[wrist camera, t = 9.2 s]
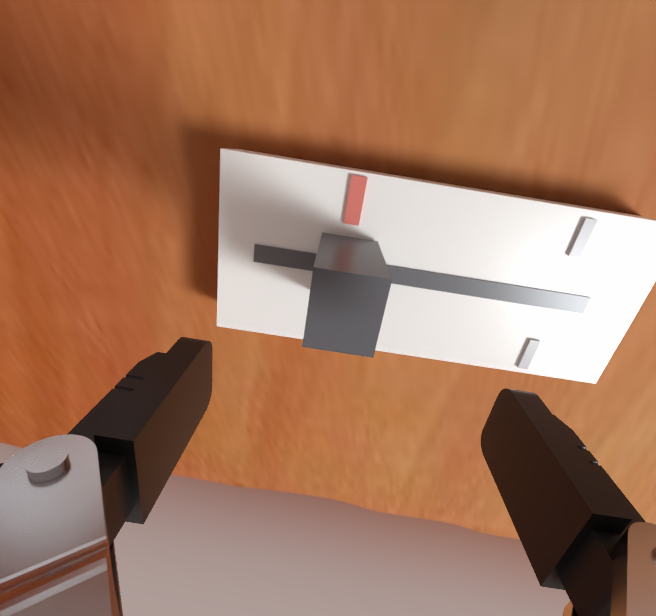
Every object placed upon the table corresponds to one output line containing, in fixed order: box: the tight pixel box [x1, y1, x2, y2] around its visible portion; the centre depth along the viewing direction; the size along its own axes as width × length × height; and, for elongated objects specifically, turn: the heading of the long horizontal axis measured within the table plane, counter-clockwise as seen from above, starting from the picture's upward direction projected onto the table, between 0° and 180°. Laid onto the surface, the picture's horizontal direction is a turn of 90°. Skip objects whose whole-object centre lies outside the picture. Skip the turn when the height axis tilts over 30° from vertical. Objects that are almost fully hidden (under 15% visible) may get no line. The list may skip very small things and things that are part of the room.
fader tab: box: [302, 232, 392, 357], centre depth 16 cm, size 3×4×6 cm
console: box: [217, 148, 656, 384], centre depth 21 cm, size 24×10×3 cm, turn 81°
